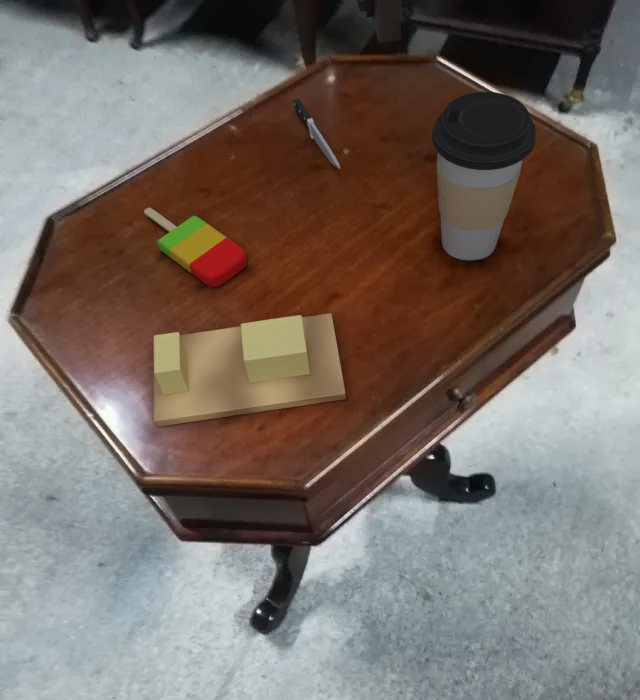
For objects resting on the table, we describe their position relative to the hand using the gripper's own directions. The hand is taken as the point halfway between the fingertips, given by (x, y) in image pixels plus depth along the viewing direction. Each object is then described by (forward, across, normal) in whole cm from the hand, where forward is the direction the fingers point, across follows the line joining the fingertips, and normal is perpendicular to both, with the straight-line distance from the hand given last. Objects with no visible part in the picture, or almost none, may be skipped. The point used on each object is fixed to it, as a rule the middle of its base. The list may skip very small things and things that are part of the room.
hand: (382, 10), depth 71 cm
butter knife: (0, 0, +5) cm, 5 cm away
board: (+19, -18, -26) cm, 37 cm away
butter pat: (+18, -25, -25) cm, 40 cm away
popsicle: (+19, -23, -7) cm, 31 cm away
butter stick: (+18, -15, -26) cm, 35 cm away
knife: (+19, -7, +7) cm, 22 cm away
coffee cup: (+19, +7, -13) cm, 24 cm away
